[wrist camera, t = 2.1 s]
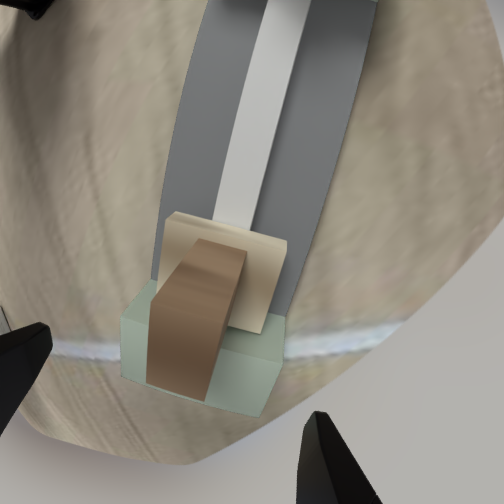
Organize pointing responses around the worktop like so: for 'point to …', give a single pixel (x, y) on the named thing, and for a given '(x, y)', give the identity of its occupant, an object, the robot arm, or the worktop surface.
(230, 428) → the worktop surface
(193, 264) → the carriage
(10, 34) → the worktop surface
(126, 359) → the rail bench
